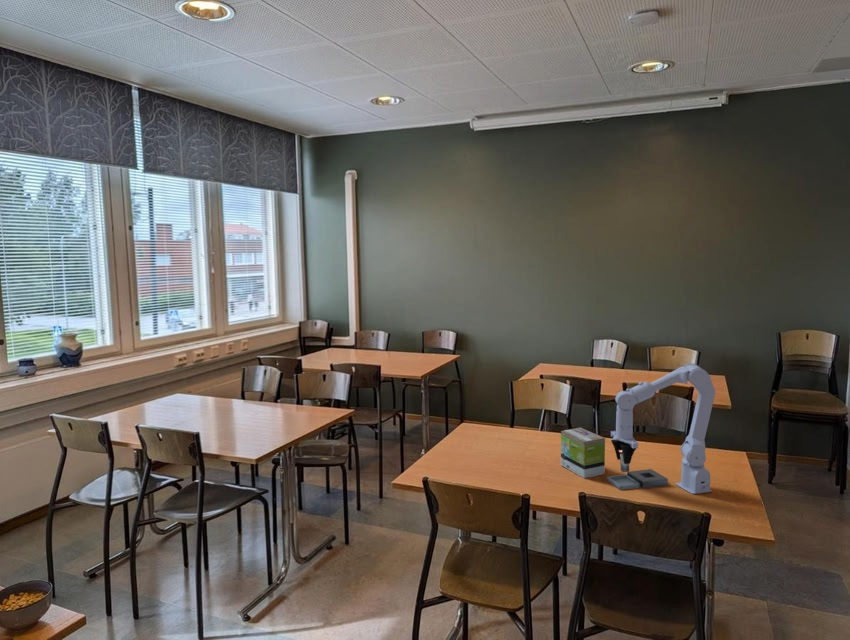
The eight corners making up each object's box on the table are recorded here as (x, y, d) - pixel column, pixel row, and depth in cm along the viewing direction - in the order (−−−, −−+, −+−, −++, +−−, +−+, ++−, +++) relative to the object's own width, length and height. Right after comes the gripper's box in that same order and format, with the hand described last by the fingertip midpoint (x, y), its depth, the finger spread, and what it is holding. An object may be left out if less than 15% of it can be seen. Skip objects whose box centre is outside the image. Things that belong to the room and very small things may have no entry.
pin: (633, 471, 211) (632, 450, 210) (623, 473, 211) (622, 452, 209) (626, 467, 215) (626, 447, 214) (617, 469, 214) (616, 448, 213)
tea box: (559, 466, 232) (560, 429, 231) (580, 462, 236) (580, 426, 235) (584, 479, 219) (584, 440, 217) (605, 474, 222) (606, 437, 221)
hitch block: (667, 485, 211) (667, 478, 211) (643, 488, 209) (643, 481, 209) (650, 475, 221) (651, 468, 221) (627, 478, 219) (627, 471, 218)
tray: (640, 487, 210) (640, 483, 210) (620, 489, 208) (620, 485, 208) (626, 478, 218) (626, 474, 218) (606, 480, 217) (606, 476, 216)
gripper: (603, 420, 217) (603, 455, 218) (625, 431, 203) (624, 469, 204) (620, 418, 218) (620, 454, 220) (643, 429, 204) (642, 467, 206)
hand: (623, 461), depth 212 cm, fingers closed on pin, 4 cm apart
